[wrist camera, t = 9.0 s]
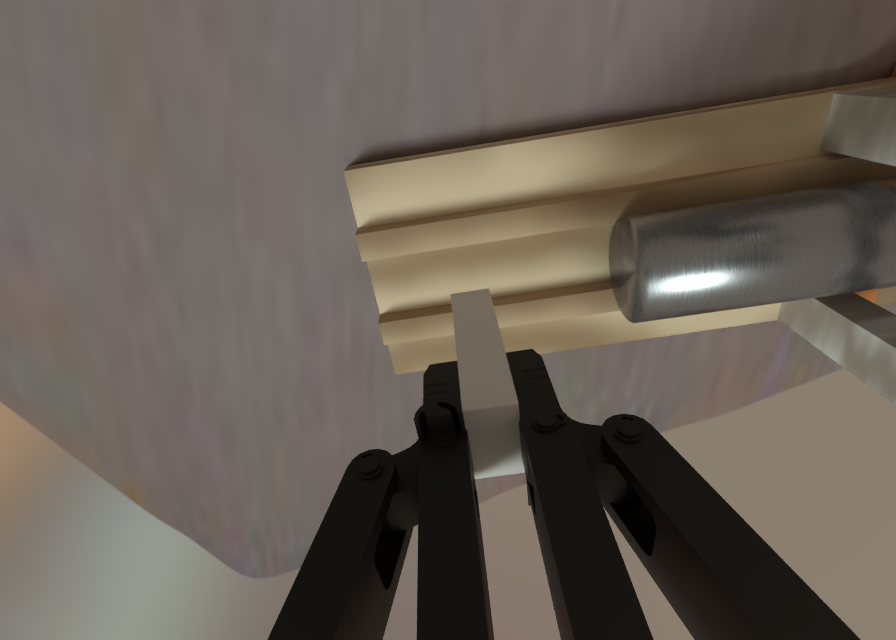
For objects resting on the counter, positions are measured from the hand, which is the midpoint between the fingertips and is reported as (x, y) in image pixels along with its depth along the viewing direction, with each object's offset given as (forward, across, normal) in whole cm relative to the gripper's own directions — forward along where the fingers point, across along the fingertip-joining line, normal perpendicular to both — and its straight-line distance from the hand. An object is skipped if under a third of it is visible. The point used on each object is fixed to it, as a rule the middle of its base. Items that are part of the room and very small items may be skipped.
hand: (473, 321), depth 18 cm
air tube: (+6, +18, -1) cm, 19 cm away
